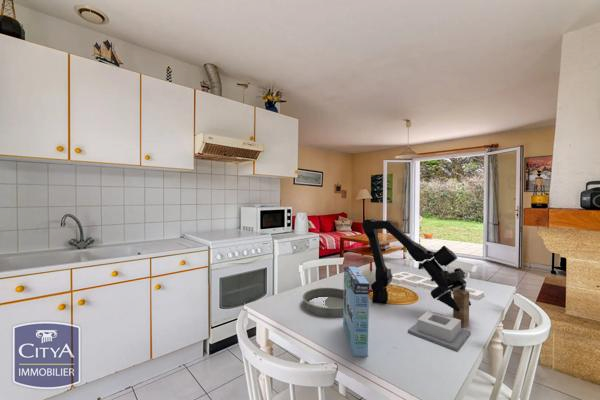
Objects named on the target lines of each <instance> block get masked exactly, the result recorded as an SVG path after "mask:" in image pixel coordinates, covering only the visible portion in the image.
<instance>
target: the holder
mask: <svg viewBox="0 0 600 400" xmlns="http://www.w3.org/2000/svg"><path fill="white" fill-rule="evenodd" d="M392 276H393V277H392V281H391V282H392V283H394V284H395V283H396V284H399V285H400V284H402V285H403V284H404V285H406V286H410V287H413V288H422V289H426V290H428V291H432V290H434V289H435V288H436V287H438V285H437V284H436V283H435V282H434V281H431V280H430V279H432V278H431V277H427V276H422V275H418V274H414V273H411V272H407V271H401V272H396V273H392ZM413 280H416V281H413ZM449 291H451V290H449ZM465 291H469V299H470V300H475V301H479V300H480V299H482V298H484V297H485V292H484V291H483V290H478V289H475V288H471V287H467V286H466V288H465ZM451 296H453V291H451Z"/></svg>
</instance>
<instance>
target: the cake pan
mask: <svg viewBox="0 0 600 400" xmlns="http://www.w3.org/2000/svg"><path fill="white" fill-rule="evenodd" d="M318 297H328V298H327V299H326V300H325V305H324V304H322V305H323V306H319V305H316V304H313V303H312V302H309V301H310V300H312V299H314V298H318ZM302 300H303V302H304V303H305V306H306V308H307V310H309V311H310V313H311V312H312V313H313V314H315V315H318V316H325V317H343V302H344V288H343V289H342V288H337V287H318V288H313V289H310V290H307V291H305V292H304V293H303V294H302ZM323 302H324V301H323Z"/></svg>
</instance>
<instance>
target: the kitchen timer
mask: <svg viewBox="0 0 600 400" xmlns="http://www.w3.org/2000/svg"><path fill="white" fill-rule="evenodd" d="M375 272H376V267H375V266H373V260H369V266H367V267H366V268H364V270H362V272H361V274H362V275H363V276H364V277H365V279H366V280H367V281H368V282H369V292H373V290H372V288H371V284H373V283H374V282H375V281H376V279H375Z"/></svg>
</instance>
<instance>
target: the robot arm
mask: <svg viewBox="0 0 600 400" xmlns="http://www.w3.org/2000/svg"><path fill="white" fill-rule="evenodd" d="M361 227H362V229H363V232H364V234H365V236H366V237H367V238H368V241H369V247H370V250H371V253H372V254H371V255H372V259H373V262H374V265H375V266H374V267H375V269H376V272H375V279H376V281H375V282H374V283H373V284H371V288H372V290H373V293H372V299H371V301H372V304H379V305H380V304H381V305H382V304H383V305H387V304H388V301H389V291H387V288H388V286H389V285H390V284H391V281H392V277H393V276H392V275H393V273H392V268H388V267H387V265H386V263H385V258H384V254H383V251H382V247H381V243H380V239H379V230H386V231H387V232H388V233H389V234H390V235H391V236H392V237H393V238H394V239H396V240H397V241H398V243H400V244H401V245H402V246H404V248H405V249H406V250H407V253H408V254H409V255H410V256H411V257H412V259H413V260H414V261H415V262H418V270H423V269H424V271H426V273H427V274H428V275H429V277H430V278H431V279H430V280H431V281H434V282H435V283H436V284H437V285H438V287H436V288H435V289H434V290H430V296H431V298H432V299H433V300H435V299H436V300H437V301H439V302H441V303H443V304H445V305H447V306H448V307H450V308H451V309H454V310H456V311H460V309H459V307H458V305H457V304H456V302H455V301H454V299H453V295H451V291H454V290H456V289H461V290H465V288H466V287H467V282H466V280H465V279H466V276H465V274H466V272H465V271H464V270H462V269H461V267H458V268H455V269H454V271H452V272H449V271H448V270H444V269H443V268H442V267H443V266H444V267H447V266H449V265H450V264H452V263H453V262H455V261H456V260H457V259H458V256H457V255H456V254H455V252H453V251H452V250H451V249H449V248H448V247H447V246H446V245H443V246H441V247H440V248H439V249H438V250H437V251H432V250H429V249H427V248H426V247H424V246H423V245H421V244H420V243H418V242H415V241H414V240H412V239H411V238H410V237H409V236H408V235H407V234H406V233H405V232H403V231H402V230H401V229H400V228H399V227H398V226H397V225H396V224H395V223H394V222H393V221H392V220H390V219H387V220H376V219H374V218H367V219H364V220H363V222H362V223H361ZM449 290H451V291H449ZM471 306H472V303H471V301H470V300H469V307H471Z"/></svg>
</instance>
